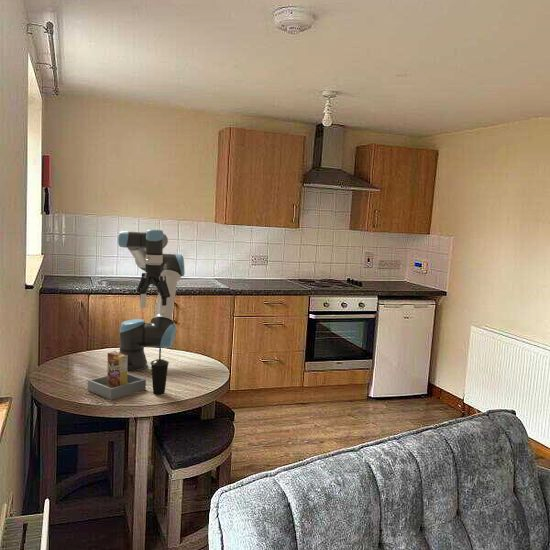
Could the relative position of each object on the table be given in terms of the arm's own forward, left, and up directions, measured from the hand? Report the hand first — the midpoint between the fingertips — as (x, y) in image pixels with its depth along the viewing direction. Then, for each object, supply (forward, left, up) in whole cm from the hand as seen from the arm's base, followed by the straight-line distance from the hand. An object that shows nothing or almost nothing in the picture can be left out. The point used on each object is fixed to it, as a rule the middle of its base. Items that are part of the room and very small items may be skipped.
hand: (152, 310), depth 245 cm
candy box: (+1, -20, -32) cm, 37 cm away
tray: (+1, -20, -33) cm, 38 cm away
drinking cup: (+17, -10, -33) cm, 38 cm away
